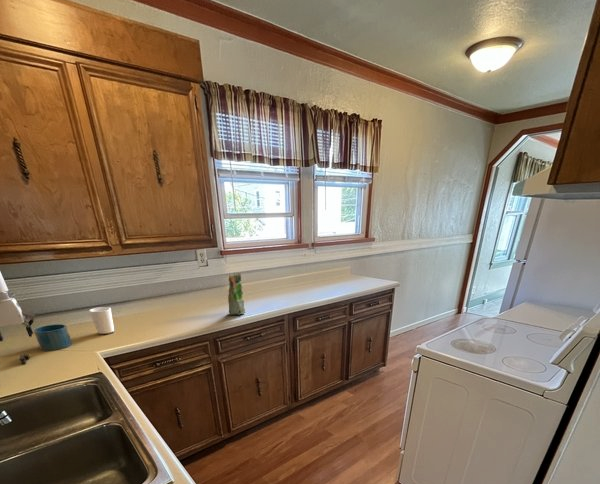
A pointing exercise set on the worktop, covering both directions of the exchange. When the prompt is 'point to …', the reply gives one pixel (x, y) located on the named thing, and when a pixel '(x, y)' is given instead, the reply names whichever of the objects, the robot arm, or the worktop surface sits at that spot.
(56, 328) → the crock
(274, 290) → the worktop surface
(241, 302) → the pouch
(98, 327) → the cup
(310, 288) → the worktop surface
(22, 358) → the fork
